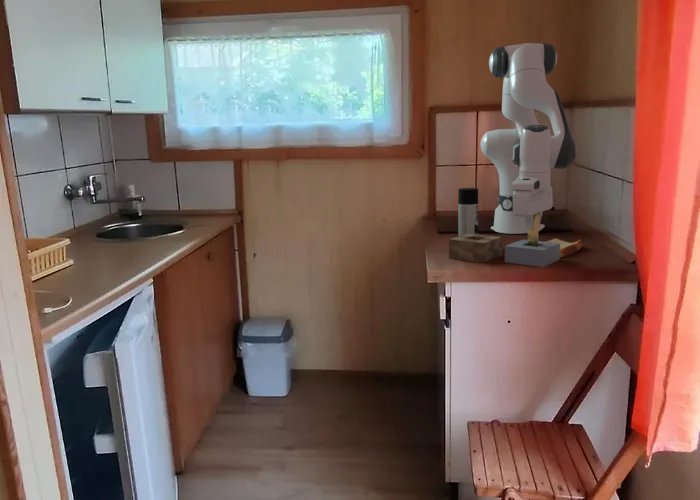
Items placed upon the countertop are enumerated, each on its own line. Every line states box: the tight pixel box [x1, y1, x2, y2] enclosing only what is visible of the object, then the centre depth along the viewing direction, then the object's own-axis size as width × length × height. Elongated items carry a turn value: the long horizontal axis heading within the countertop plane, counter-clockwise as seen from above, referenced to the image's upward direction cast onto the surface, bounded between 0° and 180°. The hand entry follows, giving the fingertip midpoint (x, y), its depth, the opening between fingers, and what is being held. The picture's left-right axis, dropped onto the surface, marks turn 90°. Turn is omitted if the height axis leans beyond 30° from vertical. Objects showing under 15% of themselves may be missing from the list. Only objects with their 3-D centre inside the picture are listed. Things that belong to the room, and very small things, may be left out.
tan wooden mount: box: [448, 233, 503, 263], centre depth 182 cm, size 12×12×6 cm
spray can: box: [457, 187, 479, 237], centre depth 197 cm, size 7×7×20 cm
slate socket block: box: [504, 239, 561, 268], centre depth 174 cm, size 12×12×5 cm
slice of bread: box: [545, 238, 584, 258], centre depth 186 cm, size 18×18×4 cm
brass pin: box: [527, 214, 539, 247], centre depth 173 cm, size 3×3×12 cm
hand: (533, 227), depth 173 cm, fingers closed on brass pin, 3 cm apart
